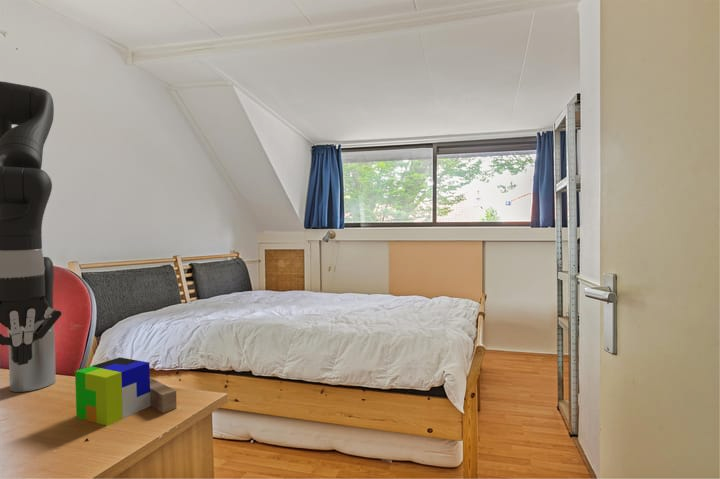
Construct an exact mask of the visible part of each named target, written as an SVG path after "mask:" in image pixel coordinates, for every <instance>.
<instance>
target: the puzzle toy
mask: <svg viewBox="0 0 720 479" xmlns="http://www.w3.org/2000/svg"><path fill="white" fill-rule="evenodd" d="M150 371H151V370H150V362H148V361H144V360H137V359H133V358H132V359H131V358H127V357H122V356H121V357H116V358H113V359H110V360H107V361H103V362H99V363H98V364H94V365H90V366H87V367H85V368H82V369H78V370H75V371H74V373H75V375H74V376H75V377H74V378H75V380H74V381H75V409H76V410H75V411H76V413H75V414H76V415H75V416H76V418H78V419H82V420H86V421H89V422H93V423H96V424H99V425H103V426H110V425H112V424H114V423H117V422H118V421H121V420H123V419H125V418H127V417H130V416H132V415H134V414H136V413H138V412H140V410H141V411H143V410H145V409H147V408H149V407H152V406H151V405H150V378H151V375H150V373H151V372H150Z"/></svg>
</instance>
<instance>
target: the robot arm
mask: <svg viewBox="0 0 720 479" xmlns="http://www.w3.org/2000/svg"><path fill="white" fill-rule="evenodd" d="M54 111H55V110H54V100H53V97H52V95H51V92H49V91H48V90H46V89H44V88H40V87H37V86H29V85H27V84H26V85H24V84H19V83H14V82H13V83H12V82H7V81H0V324H1V325H2V326H4V328H7V336H4V335H3V334H1V333H0V346H8V366H9V367H8V368H9V369H8V370H9V390H10V392H15V393H21V392H22V393H23V392H24V393H25V392H29V391H30V392H31V391H36V390H40V389H43V388H45V387H46V388H47V387H49V386H51V385H53V384H55V382H57V381H56V376H57V375H56V346H55V345H56V344H55V343H56V342H55V340H56V339H55V337H56V336H55V323H56V322H57V321H58V319H59V318H60V317H61V316H62V312H61V311H60V310H58V309H56V308H55V309H54V280H55V279H54V274H55V270H54V263H53V261H52V258H50V257H48V256H44V255H43V254H44V253H43V242H42V241H43V240H42V238H43V236H42V228H43V227H42V226H43V220H44V215H45V211H46V208H47V205H48V202H49V200H50V197H51V192H52V189H53V183H52V179H51V176H50V175H49V174H48V173H47V172H46V171H45V170H43V169H42V167H43V156H44V155H43V153H44V147H45V143H46V141H47V138H48V137H49V134H50V130H51V128H52V125H53V123H54V114H55V113H54ZM14 125H15V126H14ZM12 126H14V127H12Z"/></svg>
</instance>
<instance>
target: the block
mask: <svg viewBox="0 0 720 479" xmlns="http://www.w3.org/2000/svg"><path fill="white" fill-rule="evenodd" d="M150 405H151V406H150V407H151V408H154V409H155V410H157V411H159V412H160V413H162V414H165V413H167V412H170V411H173V410H175V409H177V407H178V406H177V390H176V389H173V388H171V387H170V386H167V385H166V384H164V383H162V382H159V381H158V380H156V379H154V378H152V377H150Z"/></svg>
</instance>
